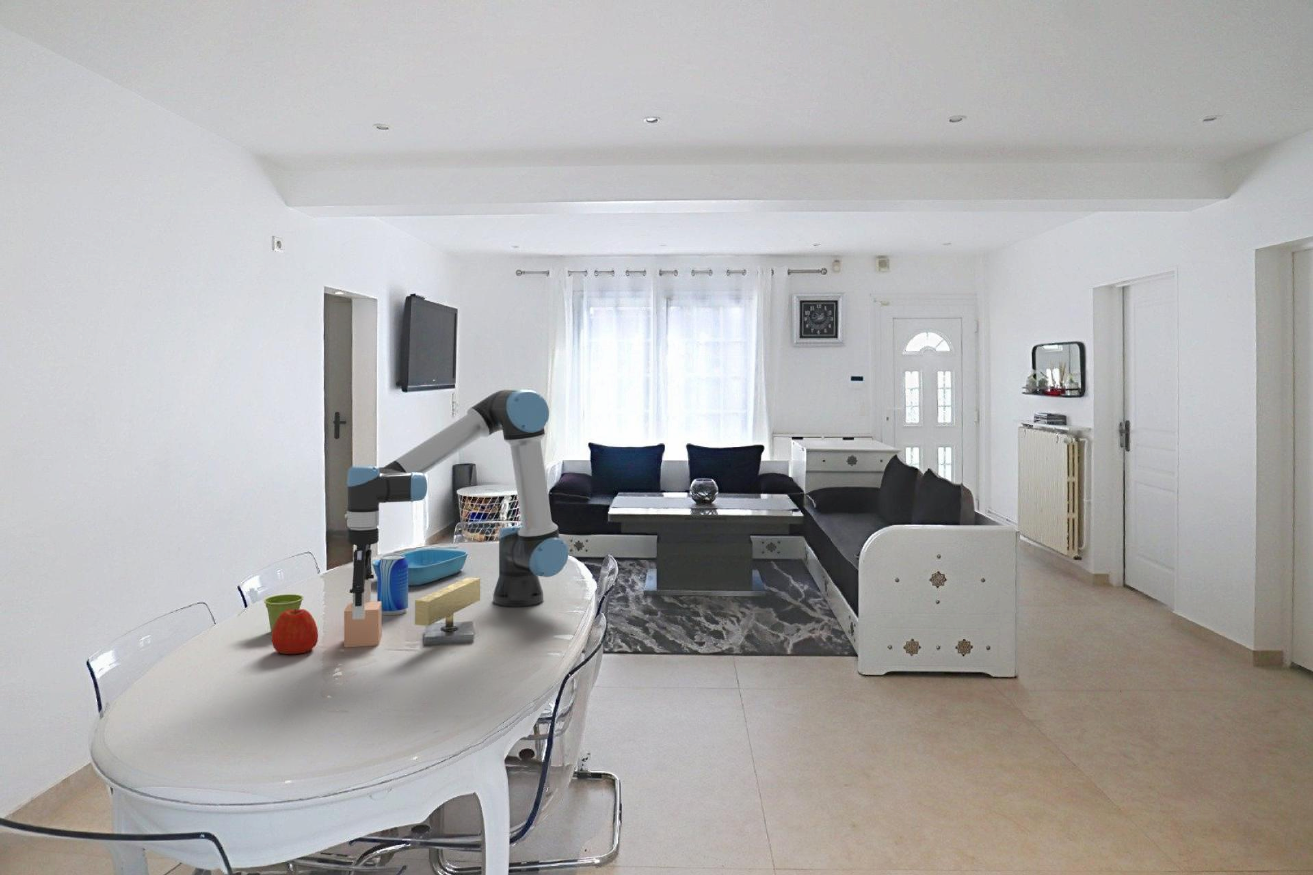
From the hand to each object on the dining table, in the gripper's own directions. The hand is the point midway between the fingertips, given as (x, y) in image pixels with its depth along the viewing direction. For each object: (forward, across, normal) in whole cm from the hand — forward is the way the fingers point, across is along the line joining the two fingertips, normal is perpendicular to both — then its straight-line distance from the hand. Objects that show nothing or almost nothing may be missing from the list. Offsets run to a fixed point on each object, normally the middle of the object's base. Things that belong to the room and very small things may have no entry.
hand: (361, 611), depth 200 cm
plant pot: (+8, -13, -21) cm, 26 cm away
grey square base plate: (+7, 0, +21) cm, 23 cm away
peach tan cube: (+8, 0, 0) cm, 8 cm away
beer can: (+8, -27, +5) cm, 29 cm away
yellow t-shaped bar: (+5, 0, +21) cm, 22 cm away
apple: (+8, +5, -15) cm, 17 cm away
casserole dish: (+8, -73, +11) cm, 74 cm away
